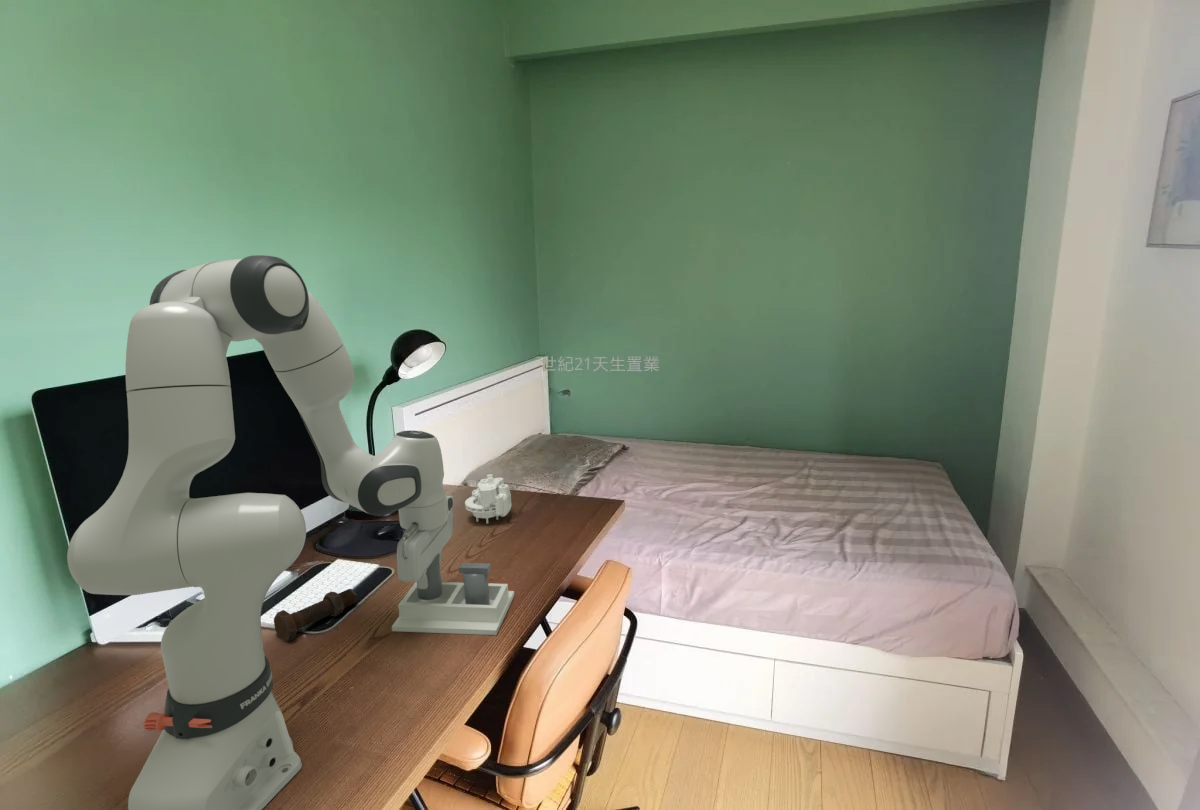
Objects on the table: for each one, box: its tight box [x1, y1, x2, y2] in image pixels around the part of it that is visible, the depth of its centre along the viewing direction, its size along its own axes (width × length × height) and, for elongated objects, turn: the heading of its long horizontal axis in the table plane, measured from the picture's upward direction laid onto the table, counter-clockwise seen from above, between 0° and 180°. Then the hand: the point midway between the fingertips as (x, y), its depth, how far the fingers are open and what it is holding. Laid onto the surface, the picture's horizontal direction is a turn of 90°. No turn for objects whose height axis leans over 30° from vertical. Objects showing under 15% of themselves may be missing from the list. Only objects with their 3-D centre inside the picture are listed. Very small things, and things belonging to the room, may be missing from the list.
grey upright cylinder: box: [417, 553, 442, 600], centre depth 123 cm, size 5×5×8 cm
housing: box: [391, 562, 515, 636], centre depth 123 cm, size 14×20×10 cm
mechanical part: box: [464, 474, 512, 524], centre depth 167 cm, size 11×12×12 cm
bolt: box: [273, 588, 358, 643], centre depth 123 cm, size 6×5×15 cm
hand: (429, 579), depth 124 cm, fingers closed on grey upright cylinder, 5 cm apart
